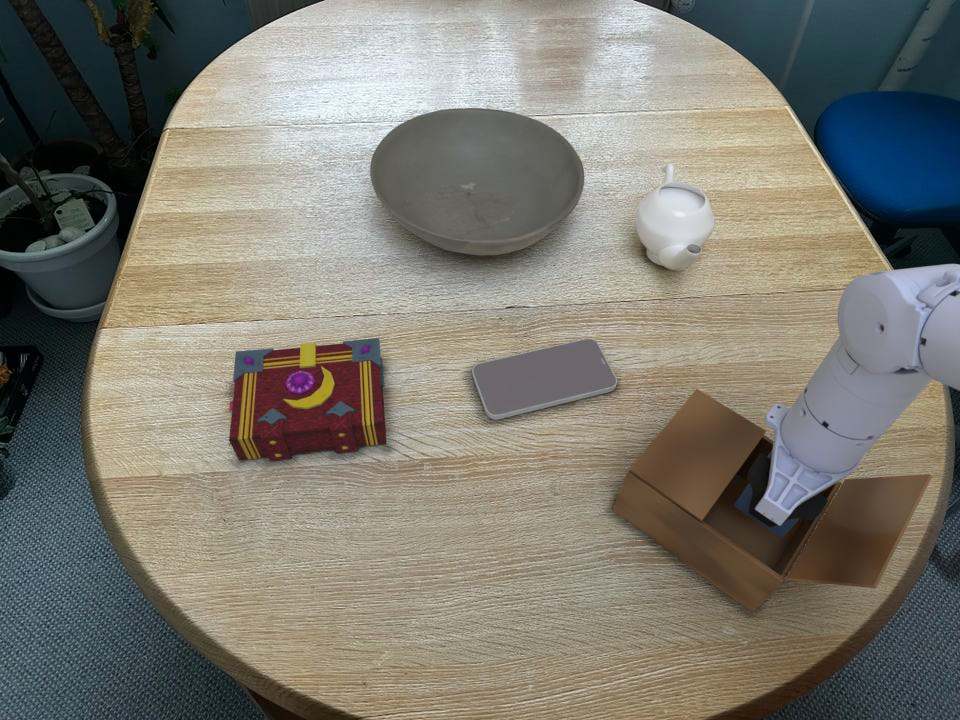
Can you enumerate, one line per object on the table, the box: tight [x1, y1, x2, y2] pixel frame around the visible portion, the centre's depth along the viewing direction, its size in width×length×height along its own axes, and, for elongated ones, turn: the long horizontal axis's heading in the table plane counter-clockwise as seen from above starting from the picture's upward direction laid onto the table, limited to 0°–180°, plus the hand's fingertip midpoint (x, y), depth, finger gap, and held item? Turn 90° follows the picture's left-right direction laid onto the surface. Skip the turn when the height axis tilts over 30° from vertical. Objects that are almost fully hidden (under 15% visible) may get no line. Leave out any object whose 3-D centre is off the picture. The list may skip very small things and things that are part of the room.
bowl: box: [369, 107, 585, 257], centre depth 89 cm, size 27×28×8 cm
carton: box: [612, 388, 843, 613], centre depth 62 cm, size 15×12×8 cm
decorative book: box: [228, 337, 387, 462], centre depth 70 cm, size 11×16×5 cm
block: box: [734, 449, 799, 538], centre depth 56 cm, size 4×4×4 cm
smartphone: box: [471, 337, 618, 421], centre depth 74 cm, size 7×1×15 cm
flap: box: [785, 473, 933, 589], centre depth 53 cm, size 7×12×1 cm
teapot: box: [634, 162, 716, 271], centre depth 85 cm, size 10×20×9 cm, turn 178°
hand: (775, 496), depth 57 cm, fingers closed on block, 4 cm apart
